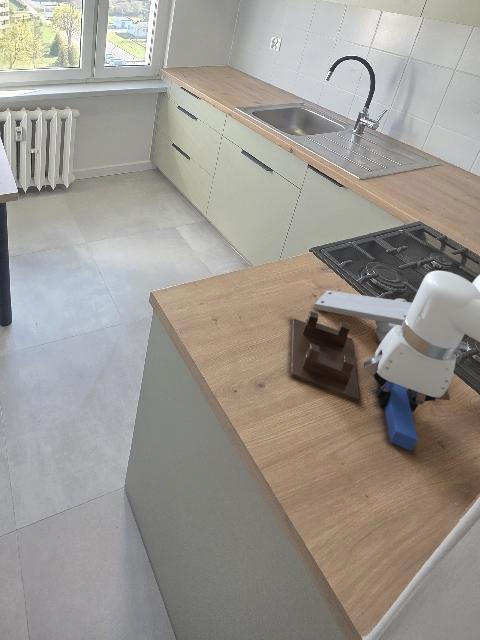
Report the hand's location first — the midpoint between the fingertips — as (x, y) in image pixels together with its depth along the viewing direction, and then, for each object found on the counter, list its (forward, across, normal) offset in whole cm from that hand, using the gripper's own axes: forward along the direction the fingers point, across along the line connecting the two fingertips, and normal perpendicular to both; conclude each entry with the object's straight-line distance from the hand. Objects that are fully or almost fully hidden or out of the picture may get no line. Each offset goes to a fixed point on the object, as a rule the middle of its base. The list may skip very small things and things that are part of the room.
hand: (393, 404), depth 79 cm
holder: (0, +12, -5) cm, 13 cm away
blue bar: (0, 0, 0) cm, 0 cm away
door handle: (0, +2, -23) cm, 23 cm away
